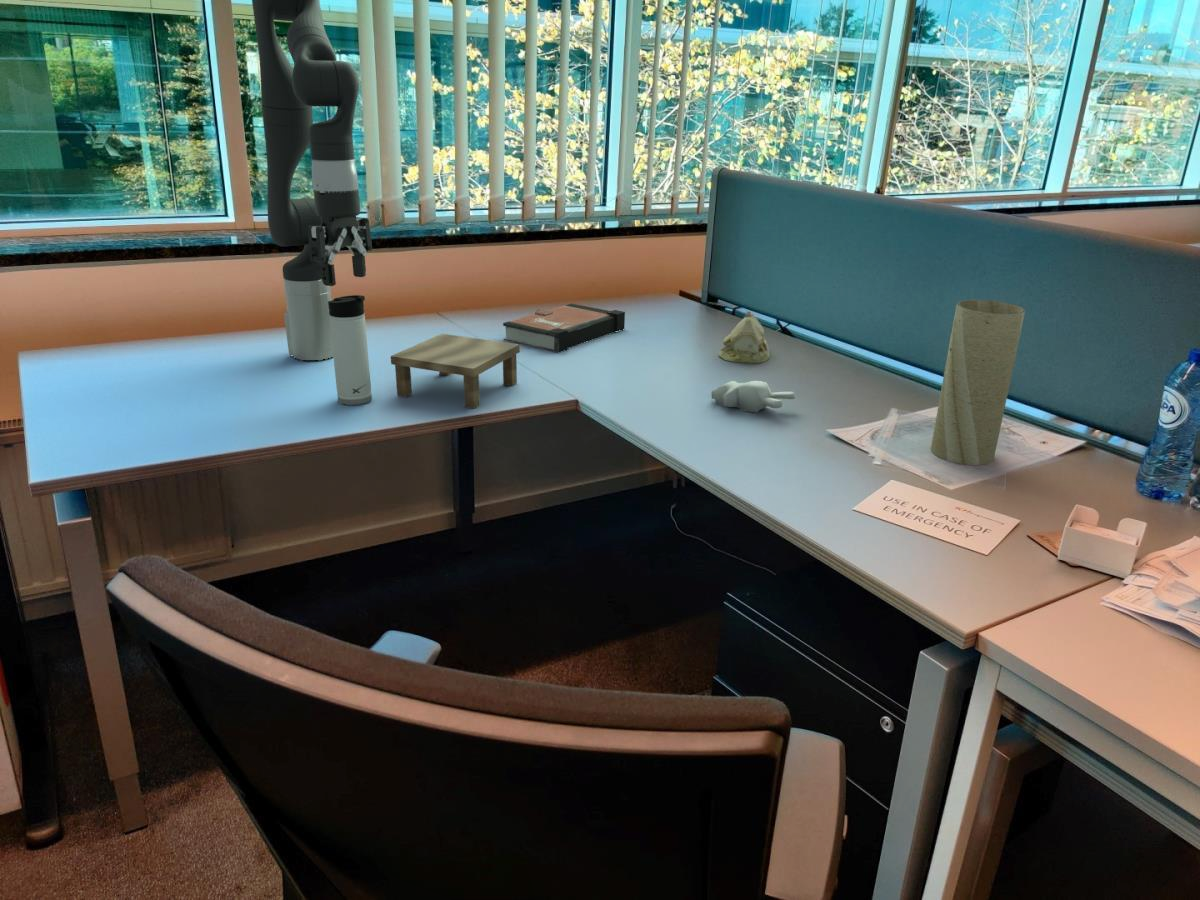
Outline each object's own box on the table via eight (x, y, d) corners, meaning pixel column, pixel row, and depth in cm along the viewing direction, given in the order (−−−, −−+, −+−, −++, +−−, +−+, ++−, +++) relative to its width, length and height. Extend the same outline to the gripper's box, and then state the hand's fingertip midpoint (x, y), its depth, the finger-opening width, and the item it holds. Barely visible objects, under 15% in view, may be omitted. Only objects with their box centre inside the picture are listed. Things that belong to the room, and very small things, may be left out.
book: (568, 320, 226) (569, 301, 224) (624, 331, 217) (624, 311, 215) (501, 341, 206) (500, 320, 204) (558, 354, 197) (558, 333, 195)
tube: (961, 468, 140) (991, 316, 130) (917, 446, 149) (943, 302, 139) (1007, 460, 144) (1040, 311, 134) (962, 438, 152) (989, 297, 143)
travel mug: (364, 407, 161) (355, 300, 153) (331, 404, 162) (320, 298, 155) (379, 396, 167) (370, 293, 159) (347, 393, 168) (337, 290, 160)
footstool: (393, 396, 167) (390, 356, 164) (443, 370, 182) (441, 333, 179) (475, 410, 161) (473, 368, 158) (520, 382, 176) (519, 344, 173)
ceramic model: (766, 366, 191) (770, 321, 187) (715, 361, 194) (718, 317, 190) (773, 349, 203) (777, 307, 199) (725, 344, 206) (728, 303, 202)
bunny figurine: (727, 374, 171) (798, 381, 162) (728, 399, 173) (799, 407, 164) (703, 386, 164) (776, 393, 155) (704, 412, 166) (777, 421, 157)
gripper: (344, 182, 157) (352, 272, 163) (290, 189, 145) (301, 286, 151) (378, 184, 155) (386, 276, 161) (326, 192, 142) (336, 290, 149)
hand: (345, 281), depth 156 cm, fingers open, 8 cm apart
